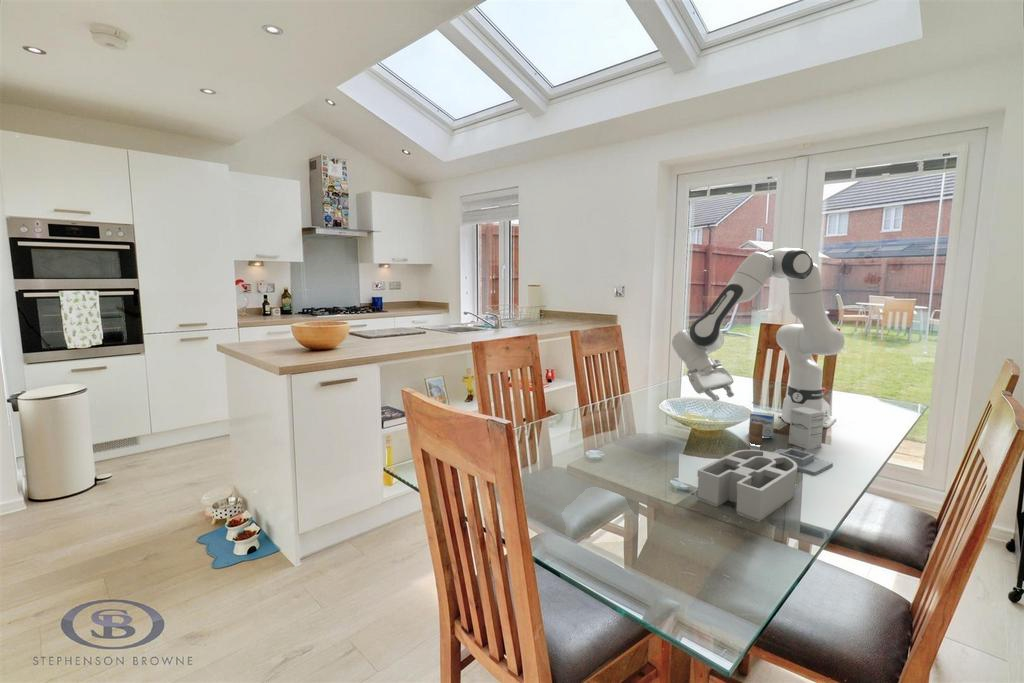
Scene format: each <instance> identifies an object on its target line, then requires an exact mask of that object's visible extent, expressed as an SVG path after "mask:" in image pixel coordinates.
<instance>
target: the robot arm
mask: <svg viewBox="0 0 1024 683" xmlns="http://www.w3.org/2000/svg"><path fill="white" fill-rule="evenodd" d="M770 277H771V278H778V279H784V278H786V280H787V281H788V296H789V308H790V313H791V314H792V315H793V316H795V317H796V318H797V319H798V320H799V322H800V323H801V324H799V323H794V324H793V323H792V324H785V325H784V324H783V325H781V327H779V329H778V330H777V331H776V335H775V341H776V343H777V345H778V346H779V347H780V348H781V349H782V351H783V352H784V354H785V356H786V358H787V361H788V365H789V385H788V386H787V390H786V391H787V393H786V394H787V396H786V397H785V398H783V402H782V403H783V404H782V409H781V413H779V414H778V416H779V417H778V418H780V417H781V418H780V419H781V420H782V419H783V420H784V421H783V420H782V421H783V422H785V423H787V424H790V419H791V409H794V408H799V407H807V408H811V409H815V410H819V411H822V412H824V420H823V428H824V429H825V428H826V429H827V428H828V429H829V428H830V426H832V424H834V423H835V422H836V420H837V417H836V416H833V415H830V414H831V405H830V404H829V403H828V402H827V401H826V399H824V394H825V393H826V392H827V391H826V390H827V389H826V388H825V387H822V385H823V375H824V374H823V368H822V366H820V365H819V364H818V363H817V362H816V361H815V360H814V358H813V355H817V356H835V355H838V354H839V353H840V352H841V351H842V350H843V348H844V346H845V342H846V341H845V337H844V335H843V333H842V331H840V330H839V329H838V328H836V327H835V326H834V325H833V323H832V322H831V320H830V318H829V317H828V315H827V312H826V310H825V304H824V295H823V282H822V276H821V273H820V269H819V266H818V264H816V263H814V262H813V259H812V256H811V254H810V253H809V251H806V250H804V249H803V248H802V249H801V248H792V247H782V248H773V249H772V248H771V249H768V250H764V251H763V252H761V251H754V252H752V253H749V255H747V257H746V258H745V259H744V260H743V261H742V262H741V264H740V265H738V268H737V269H736V270H735V271H734V273H733V275H732V276H731V277H730V279H729V281H728V283H727V284H726V286H725V287H724V289H723V290H722V292H721V293H720V294H719V295H718V297H717V298H716V299H715V301H714V302H713V303H712V305H711V306H710V307H709V308H708V310H707V311H706V313H704V315H702V316H701V317H699V318H697V319H695V321H694V322H692V324H691V326H690V327H689V329H682V330H680V331H678V333H676V334H675V335H674V336H673V338H672V340H671V345H672V348H673V350H674V352H675V353H676V354H677V356H678V357H679V359H680V360H681V361H682V362H684V364H685V367H686V369H687V370H688V371H687V373H686V376H687V378H688V380H689V384H690V385H691V387H692V388H693V390H694V391H695V392H696V393H697V394H699V395H701V394H705V395H706V396H707V397H709V398H710V399H711V400H712V401H713V402H718V401H719V400H720V396H719V395H718V394H715V393H714V392H713V391H716V390H720V389H723V390H725V391H726V396H727V397H728V398H732V397H734V395H735V393H734V392H733V389H732V386H731V385H733V384H734V378H733V376H732V375H731V373H730V371H728V369H727V368H726V367H725V366H723V361H721V360H719V359H715V358H713V357H710V356H709V354H710V353H713V352H715V351H717V350H718V349H720V348H721V347H722V346H723V344H724V340H725V337H724V334H723V332H722V331H721V326H722V323H723V322H724V320H725V318H727V316H728V315H729V314H730V312H731V311H732V310H733V308H734V307H735V306H736V305H737V304H740V303H748V302H751V301H752V300H753V299H754V298H755V297H756V296H757V295H758V293H759V292H760V291H761V289H762V288H763V287H764V285H765V284H766V282H767V280H768V279H769V278H770Z"/></svg>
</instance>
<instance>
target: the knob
mask: <svg viewBox="0 0 1024 683" xmlns="http://www.w3.org/2000/svg"><path fill="white" fill-rule="evenodd" d="M749 422H750V421H749ZM762 433H763V423H760V422H750V435H749V434H748V437H749V438H748V443H749V442H750V443H751V444H755V445H762V446H763V438H762Z"/></svg>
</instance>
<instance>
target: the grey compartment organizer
mask: <svg viewBox="0 0 1024 683" xmlns="http://www.w3.org/2000/svg"><path fill="white" fill-rule="evenodd" d="M797 474H798V470H797V463H796V462H795V461H793V460H792V459H790V458H788V457H786V456H783V455H780V454H777V453H773V451H767V450H760V449H742V450H741V449H740V450H736V451H733V452H731V453H729V454H727V455H725V456H723V457H721V458H719V459H717V460H715V461H713V462H711V463H709V464H707V465H705V466H703V467H701V468H698V469H697V477H698V478H697V499H698V501H700V502H703V503H705V504H708V505H711V506H714V507H719V506H721V505H722V504H724V503H725V502H728V501H730V502H733V503H736V508H735V510H736V514H737V516H740V517H742V518H746V519H748V520H751V521H754V522H757V523H760V522H761V521H762V520H764V519H765V518H766V517H767V516H769V515H771V514H772V513H773V512H775V511H776V510H778V509H779V508H780V507H781V506H783V505H785V504H786V503H787V502H789V501H790V500H792V499H793V497H794V495H795V492H796V484H797V483H796V481H797Z"/></svg>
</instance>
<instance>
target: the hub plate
mask: <svg viewBox="0 0 1024 683" xmlns="http://www.w3.org/2000/svg"><path fill="white" fill-rule="evenodd" d="M772 452H773V453H777V454H780V455H783V456H786V457H788V458H790V459H792V460H793V461H795V462H796V463H797V472H798V471H799V472H801V473H805V474H808V475H811V476H814V477H815V476H816V475H818V474H821V473H822V472H824V471H826V470H828V469H830V468H832V467H833V462H830V461H827V460H824V459H821V458H820V459H819V458H815V453H811V452H807V451H803V450H800V449H796V448H791V447H789V448H787V449H784V448H778V449H776V450H774V451H772Z"/></svg>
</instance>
